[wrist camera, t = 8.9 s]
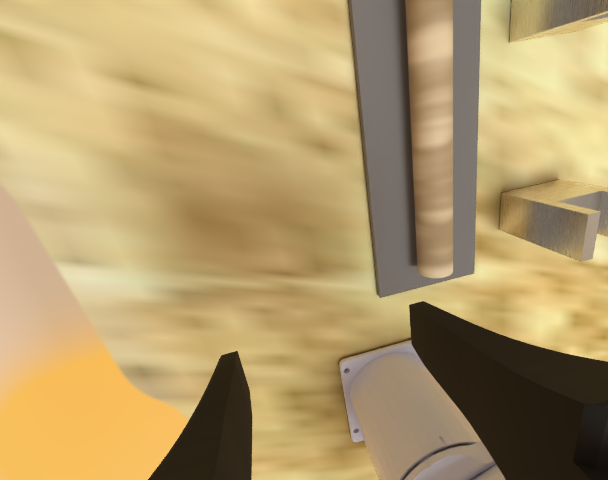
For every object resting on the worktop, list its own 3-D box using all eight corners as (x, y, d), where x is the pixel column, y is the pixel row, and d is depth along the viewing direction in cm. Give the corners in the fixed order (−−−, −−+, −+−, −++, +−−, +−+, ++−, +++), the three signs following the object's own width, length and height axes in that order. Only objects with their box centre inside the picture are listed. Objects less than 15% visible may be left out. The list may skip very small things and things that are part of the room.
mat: (469, 270, 26) (474, 273, 25) (377, 294, 25) (380, 297, 25) (476, -72, 18) (482, -77, 18) (342, -56, 17) (345, -61, 17)
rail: (442, 260, 24) (459, 274, 22) (412, 266, 24) (426, 280, 22) (439, -26, 18) (462, -47, 16) (397, -19, 18) (414, -39, 16)
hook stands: (554, 216, 26) (650, 243, 20) (499, 229, 25) (580, 261, 19) (583, -24, 20) (730, -90, 14) (512, -14, 19) (634, -78, 13)
